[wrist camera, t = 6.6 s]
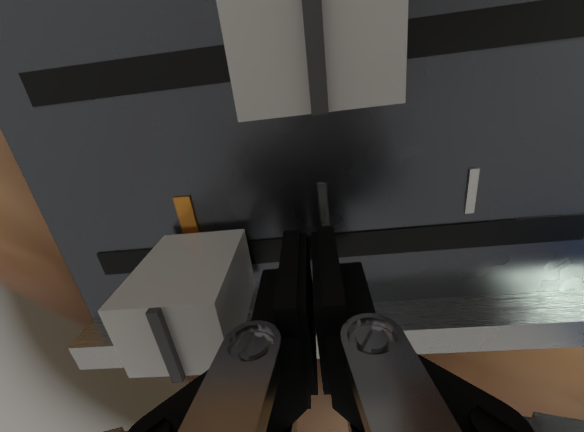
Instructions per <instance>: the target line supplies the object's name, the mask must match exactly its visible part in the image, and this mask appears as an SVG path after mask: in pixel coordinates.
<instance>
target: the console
mask: <svg viewBox="0 0 584 432" xmlns="http://www.w3.org/2000/svg"><path fill="white" fill-rule="evenodd" d="M0 128H1V130H2V132H3V135H4V137H5V139H6V141H7V143H8V145H9V147H10V149H11V151H12V153H13V155H14V157H15V159H16V161H17V163H18V165H19V168H20V170H21V172H22V174H23V176H24V178H25V180H26V182H27V184H28V186H29V188H30V190H31V192H32V194H33V196H34V198H35V201H36V203H37V205H38V207H39V209H40V211H41V213H42V215H43V217H44V219H45V221H46V223H47V225H48V227H49V229H50V231H51V234H52V236H53V238H54V240H55V242H56V244H57V246H58V248H59V250H60V252H61V254H62V256H63V258H64V260H65V262H66V264H67V267H68V269H69V271H70V273H71V275H72V277H73V279H74V281H75V283H76V285H77V287H78V289H79V291H80V293H81V295H82V298H83V300H84V302H85V304H86V306H87V308H88V310H89V312H90V314H91V316H92V318H93V320H92V321H91V323H90V324H89V325H88V326H87V327H86V328H85V330H84V331H83V332H82V333H81V334H80V335H79V336H78V338H77V339H76V340H75V341H74V342H73V344H72V345H71V346H70V347H69V348H68V349H69V351H70V353H71V355H72V356H73V358H74V360H75V362H76V363H77V365H78V367H79V369H80V370H88V369H109V368H124V367H123V364H122V362H121V360H120V358H119V356H118V354H117V352H116V350H115V348H114V345H113V343H112V341H111V339H110V337H109V335H108V333H107V331H106V328H105V326H104V324H103V322H102V320H101V318H100V316H99V314H98V310H99V309H100V308H101V307H102V305H103V304H104V303H105V302H106V301H107V300H108V299H109V297H110V296H111V295H112V294H113V293H114V292H115V291H116V290H117V288H118V287H119V286H120V285H121V284H122V283H123V282H124V280H125V279H126V278H127V277H128V276H129V275H130V274H131V273H132V271H133V270H134V269H135V268H136V267H137V266H138V265H139V263H140V262H141V261H142V260H143V259H144V258H145V257H146V256H147V254H148V253H149V252H150V251H151V250H152V249H153V248H154V246H155V245H156V244H157V243H158V242H159V241H160V240H161V238H162V237H163V236H165V235H177V234H188V233H200V232H212V231H224V230H235V229H245V234H246V239H247V244H248V249H249V254H250V259H251V264H252V269H253V274H254V279H255V288H254V292H253V296H252V300H251V304H250V308H249V312H248V316H247V320H246V322H249V321H251V319H252V315H253V310H254V306H255V301H256V297H257V293H258V288H259V284H260V279H261V275H262V271H263V270H265V269H277V268H278V267H279V260H280V254H281V247H282V240H283V233H284V231H287V230H297V229H300V232H301V233H307V240H308V249H309V257H310V265H311V274H312V239H311V232H317V228H319V227H330V226H333V228H334V234H335V240H336V246H337V252H338V258H339V263H351V262H361V263H362V267H363V270H364V274H365V277H366V280H367V284H368V287H369V291H370V294H371V298H372V301H373V305H374V308H375V312H376V314H381V315H384V316H386V317H389V318H390V319H392V320H393V321H395V322H396V323H397V324H398V325H399V326H400V327H401V328H402V330H403V332H404V333H405V335H406V337H407V338H408V340H409V342H410V343H411V345H412V347H413V349H414V350H415V352H416V353H417V354H434V353H456V352H477V351H499V350H521V349H542V348H564V347H584V0H408V34H407V67H406V101H405V103H401V104H393V105H384V106H375V107H367V108H358V109H350V110H341V111H332V112H329V113H327V114H318V115H311V114H306V115H298V116H289V117H281V118H272V119H263V120H255V121H246V122H238V119H237V113H236V108H235V102H234V97H233V91H232V86H231V80H230V75H229V69H228V64H227V58H226V53H225V47H224V42H223V36H222V31H221V25H220V19H219V14H218V8H217V3H216V0H0ZM312 282H313V277H312ZM316 351H317V359H320V358H319V350H318V342H317V334H316Z"/></svg>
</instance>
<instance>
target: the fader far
mask: <svg viewBox="0 0 584 432" xmlns="http://www.w3.org/2000/svg"><path fill="white" fill-rule="evenodd" d="M254 288H255V279H254V274H253V269H252V264H251V259H250V254H249V249H248V244H247V239H246V234H245V229H235V230H224V231H212V232H200V233H188V234H177V235H165V236H163V237H162V238H161V240H160V241H159V242H158V243H157V244H156V245H155V246H154V248H153V249H152V250H151V251H150V252H149V253H148V254H147V256H146V257H145V258H144V259H143V260H142V261H141V262H140V263H139V265H138V266H137V267H136V268H135V269H134V270H133V271H132V273H131V274H130V275H129V276H128V277H127V278H126V279H125V280H124V282H123V283H122V284H121V285H120V286H119V287H118V288H117V290H116V291H115V292H114V293H113V294H112V295H111V296H110V297H109V299H108V300H107V301H106V302H105V303H104V304H103V305H102V307H101V308H100V309H99V310H98V314H99V316H100V318H101V320H102V322H103V324H104V326H105V328H106V331H107V333H108V335H109V337H110V339H111V341H112V343H113V345H114V348H115V350H116V352H117V354H118V356H119V358H120V360H121V362H122V364H123V367H124V369H125V371H126V373H127V375H128V377H129V378H142V377H167V376H170V378H171V381H172V383H175V382H183V381H184V378H185V376H190V375H201V374H203V373H204V372H205V371H207V370H208V369H209V368H210V366H211V364H212V362H213V360H214V358H215V356H216V354H217V352H218V350H219V348H220V346H221V344H222V342H223V340H224V338H225V337H226V335H227V334H228V333H229V332H230V331H231V330H232V329H234V328H235V327H237V326H239V325H241V324H242V323H246V320H247V316H248V312H249V308H250V304H251V300H252V296H253V292H254Z"/></svg>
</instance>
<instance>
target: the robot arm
mask: <svg viewBox="0 0 584 432" xmlns="http://www.w3.org/2000/svg"><path fill="white" fill-rule="evenodd" d="M311 239H312V274H311V265H310V257H309V249H308V240H307V233H301V232H300V229H297V230H287V231H284V233H283V240H282V247H281V254H280V260H279V267H278V268H277V269H265V270H263V271H262V275H261V279H260V284H259V288H258V293H257V297H256V301H255V306H254V310H253V315H252V319H251V321H249V322H246V323H242V324H241V325H239V326H237V327H235V328H234V329H232V330H231V331H230V332H229V333H228V334H227V335H226V337H225V338H224V340H223V342H222V344H221V346H220V348H219V350H218V352H217V354H216V356H215V358H214V360H213V362H212V364H211V366H210V368H209V369H208V370H207V371H205V372H204V373H203V374H201V375H200V376H199V377H197V378H196V379H194V380H193V381H192V382H190V383H189V384H188V385H186V386H185V387H183V388H182V389H181V390H179V391H178V392H177V393H175V394H174V395H172V396H171V397H170V398H168V399H167V400H165V401H164V402H163V403H161V404H160V405H159V406H157V407H156V408H154V409H153V410H152V411H150V412H149V413H147V414H146V415H145V416H143V417H142V418H141V419H140V420H139V421H137V422H136V423H135V424H134V425H133V426H132V427H131V428H130V429H129V431H124V430H123V428H122V427H120V428H116V429H112V430H109V431H105V432H297V421H296V420H297V419H298V418H299V417H300V416H301V415H302V414H303V413H304V412H305V411H306V410H307V409H311V395H318V380H317V351H316V334H317V342H318V350H319V358H320V366H321V375H322V383H323V391H324V394H331V398H332V407H333V409H335V410H336V411H337V412H338V413H339V414H340V415H342V416H343V417H344V418H345V419H346V420H347V421H348V430H349V432H584V420H578V419H572V418H566V417H560V416H554V415H548V414H542V413H536V412H533V415H532V418H531V417H526V416H522V415H521V414H520V413H519V412H517V411H516V410H514V409H513V408H512V407H510V406H509V405H507V404H506V403H504V402H502V401H501V400H499V399H497V398H495V397H493V396H492V395H490V394H488V393H486V392H485V391H483V390H481V389H479V388H477V387H476V386H474V385H472V384H470V383H468V382H467V381H465V380H463V379H461V378H460V377H458V376H456V375H454V374H452V373H451V372H449V371H447V370H445V369H444V368H442V367H440V366H438V365H436V364H435V363H433V362H431V361H429V360H428V359H426V358H424V357H422V356H420V355H419V354H417V353H416V352H415V350H414V349H413V347H412V345H411V343H410V342H409V340H408V338H407V337H406V335H405V333H404V332H403V330H402V328H401V327H400V326H399V325H398V324H397V323H396V322H395V321H393V320H392V319H390V318H389V317H386V316H384V315H381V314H376V312H375V308H374V305H373V301H372V298H371V294H370V291H369V287H368V284H367V280H366V277H365V274H364V270H363V267H362V263H361V262H351V263H339V258H338V252H337V246H336V240H335V234H334V228H333V226H330V227H319V228H317V232H311ZM312 277H313V282H312Z"/></svg>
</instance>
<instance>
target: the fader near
mask: <svg viewBox="0 0 584 432" xmlns="http://www.w3.org/2000/svg"><path fill="white" fill-rule="evenodd" d="M216 3H217V8H218V14H219V19H220V25H221V31H222V36H223V42H224V47H225V53H226V58H227V64H228V69H229V75H230V80H231V86H232V91H233V97H234V102H235V108H236V113H237V119H238V122H246V121H255V120H263V119H272V118H281V117H289V116H298V115H306V114H311V115H318V114H327V113H329V112H332V111H341V110H350V109H358V108H367V107H375V106H384V105H393V104H401V103H405V101H406V67H407V34H408V0H216Z"/></svg>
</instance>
